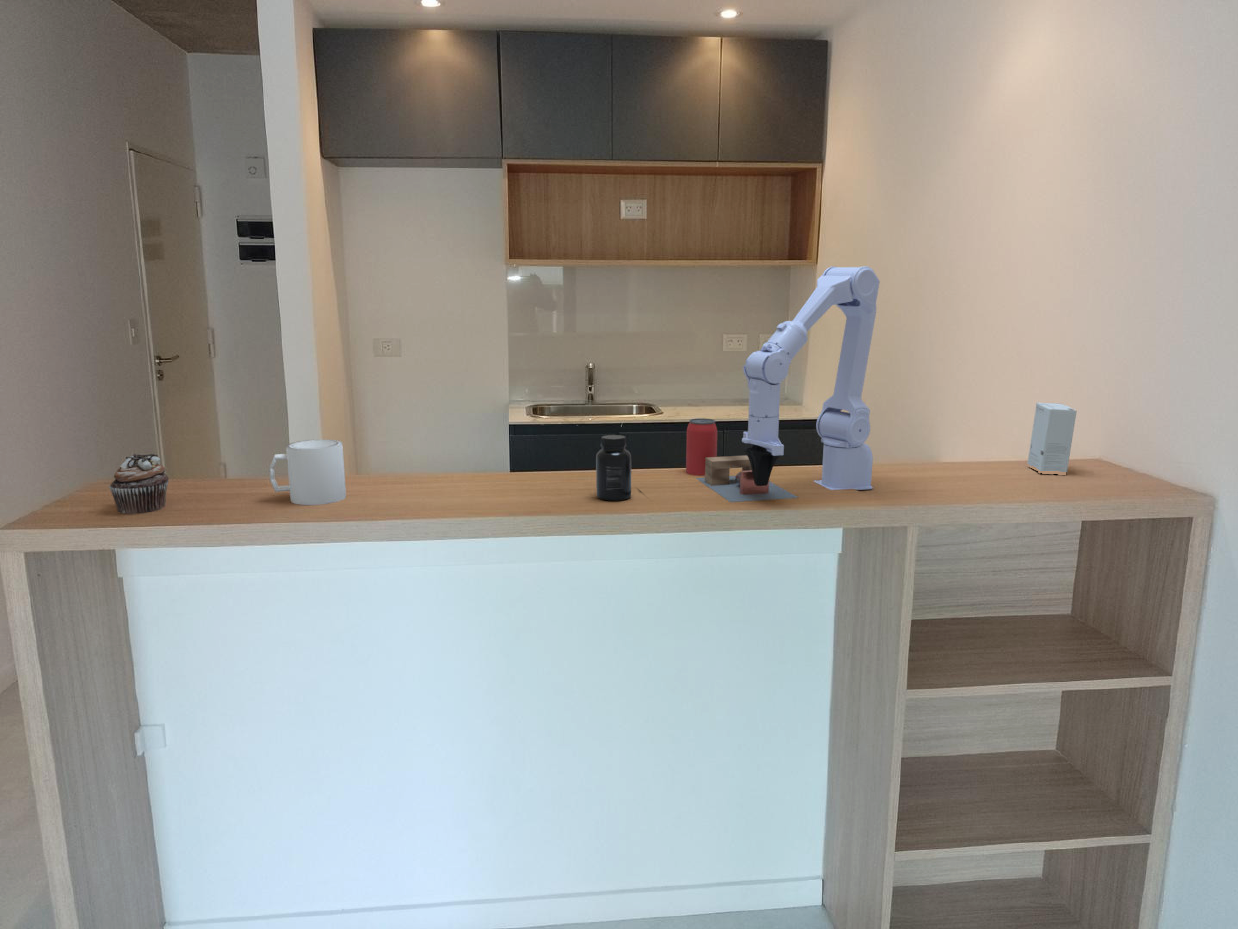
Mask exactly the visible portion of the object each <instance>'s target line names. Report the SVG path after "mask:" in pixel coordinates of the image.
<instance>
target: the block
mask: <svg viewBox="0 0 1238 929" xmlns="http://www.w3.org/2000/svg"><path fill="white" fill-rule="evenodd" d="M739 468H741V471H748V470H752V468H751V464H750V461H749V458H748V456H747V454H746V455H731V456H727V455H725V456H717V457H706V458H705V476H704V478H705V481H706V482H707V483H708V484H710V485H711V486H713V485H729V476H730V471H731V470H730V469H739Z"/></svg>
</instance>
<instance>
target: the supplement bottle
mask: <svg viewBox="0 0 1238 929" xmlns="http://www.w3.org/2000/svg"><path fill="white" fill-rule="evenodd" d="M626 442H627V437H626V436H624V435H620V434H619V435H615V434H608V435H603V436H601V438H600V447H601V449H600V450H598V452H597V453H596V457H595V473H596V478H595V479H596V485H595V486H596V497H597V498H598V499H600V500H602V501H609V502H611V501H613V502H617V501H625V500H628V499H629V498H630V497H631V496H632V453H630V451H629V450H627V449H626V447H627V443H626Z"/></svg>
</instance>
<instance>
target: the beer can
mask: <svg viewBox="0 0 1238 929" xmlns="http://www.w3.org/2000/svg"><path fill="white" fill-rule="evenodd" d="M688 422H689V423H688V425H687V428H686V446H685V447H686V448H685V449H686V450H685V451H686V452H685V453H686V454H685V473H686V474H688V475H691V476H697V477H698V476H699V477H700V476H701V477H703V476H704V477H705V458H706V457H718V455H717V454H718V427H717V425H716V420H715V419H712V418H706V417H705V418H703V417H702V418H691V419H689V421H688Z"/></svg>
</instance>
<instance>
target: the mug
mask: <svg viewBox="0 0 1238 929" xmlns="http://www.w3.org/2000/svg"><path fill="white" fill-rule="evenodd" d="M285 447H286V449H285V451H286V453H280V454H279V453H277V454H274V456H273V458H272V461H271V463H270V465H269V482H270V483H271V485H272V486H271V487H272V488H273V490H274V492H275V493H278V492H279V493H280V492H289V497H290V498H289V499H290V501H291V503H292V504H294V505H299V506H318V505H319V506H320V505H328V504H332V503H333V504H334V503H337V502H340V501H343V500H345V499H346V497H347V490H346V476H345V461H344V460H345V459H344V458H345V457H344V448H343V442H342V441H340V440H338V439H337V440H335V439H305V440H298V441H295V442H291V443H287V445H286V446H285ZM278 460H279V461H282V460H283V461H284V460H287V473H288V485H279V484H278V482H277V480H276V478H275V466H276V463H277V462H278Z"/></svg>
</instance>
